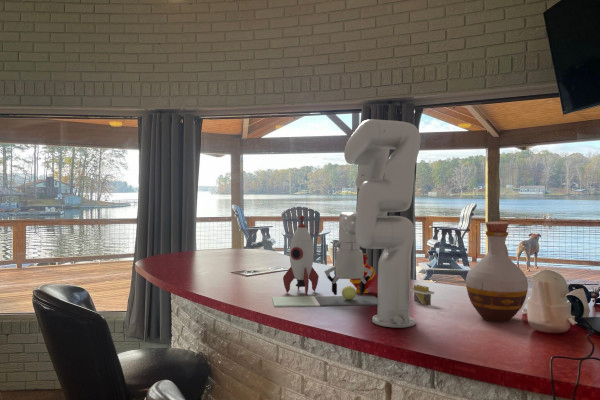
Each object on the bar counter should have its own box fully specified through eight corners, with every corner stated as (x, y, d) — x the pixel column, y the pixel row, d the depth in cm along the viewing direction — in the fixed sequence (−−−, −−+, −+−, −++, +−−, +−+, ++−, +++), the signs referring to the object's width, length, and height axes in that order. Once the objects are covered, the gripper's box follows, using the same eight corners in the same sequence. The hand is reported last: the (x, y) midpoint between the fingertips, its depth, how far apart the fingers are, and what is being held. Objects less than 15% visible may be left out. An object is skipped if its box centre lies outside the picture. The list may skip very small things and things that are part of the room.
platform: (426, 311, 159) (427, 291, 159) (390, 301, 175) (390, 283, 175) (452, 307, 165) (452, 288, 165) (414, 298, 181) (415, 280, 181)
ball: (357, 301, 170) (357, 287, 170) (343, 301, 169) (343, 287, 169) (354, 298, 175) (354, 284, 175) (340, 298, 174) (340, 284, 174)
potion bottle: (374, 295, 184) (375, 255, 184) (347, 293, 186) (347, 254, 186) (375, 290, 194) (376, 252, 194) (350, 288, 196) (350, 252, 196)
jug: (478, 308, 163) (479, 219, 163) (535, 317, 152) (537, 221, 151) (456, 319, 148) (457, 221, 148) (518, 329, 136) (519, 224, 136)
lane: (384, 305, 166) (384, 303, 166) (274, 306, 162) (274, 305, 162) (373, 297, 180) (373, 295, 180) (272, 298, 176) (272, 296, 176)
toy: (282, 293, 185) (283, 215, 185) (295, 289, 194) (296, 214, 194) (308, 296, 180) (308, 216, 180) (320, 291, 189) (321, 215, 189)
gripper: (327, 247, 167) (326, 296, 168) (375, 247, 169) (374, 296, 170) (323, 245, 175) (322, 292, 175) (370, 245, 177) (369, 291, 177)
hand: (348, 294), depth 172 cm, fingers open, 9 cm apart
